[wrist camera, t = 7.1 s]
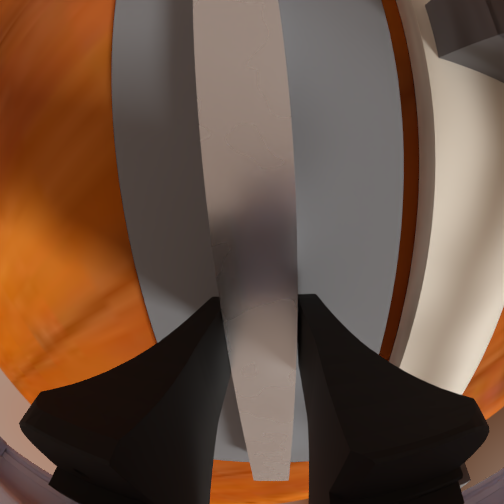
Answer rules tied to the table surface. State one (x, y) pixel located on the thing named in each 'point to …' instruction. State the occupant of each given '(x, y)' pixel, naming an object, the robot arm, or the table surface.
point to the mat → (305, 164)
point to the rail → (251, 213)
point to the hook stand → (455, 190)
